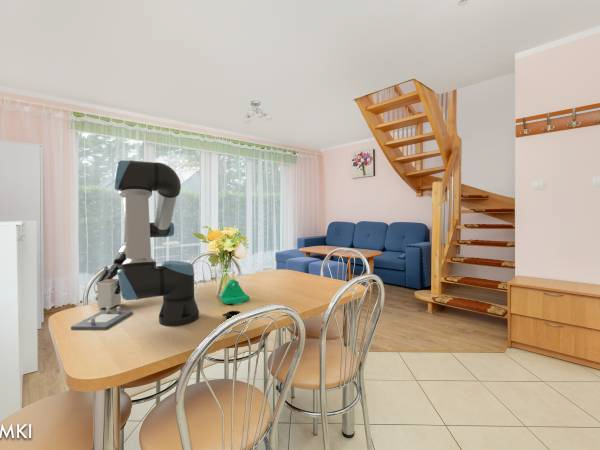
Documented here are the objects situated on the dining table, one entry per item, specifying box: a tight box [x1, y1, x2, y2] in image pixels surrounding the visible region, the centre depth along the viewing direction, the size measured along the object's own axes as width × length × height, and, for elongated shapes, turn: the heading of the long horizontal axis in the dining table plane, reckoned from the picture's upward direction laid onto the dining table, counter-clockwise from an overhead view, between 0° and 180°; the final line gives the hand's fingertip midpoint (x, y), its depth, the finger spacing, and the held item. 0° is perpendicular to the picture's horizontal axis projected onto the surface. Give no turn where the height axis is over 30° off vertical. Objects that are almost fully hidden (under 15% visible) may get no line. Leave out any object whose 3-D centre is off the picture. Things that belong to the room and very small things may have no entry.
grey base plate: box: [70, 306, 133, 331], centre depth 119 cm, size 13×17×4 cm
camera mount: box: [219, 279, 250, 305], centre depth 144 cm, size 12×8×10 cm, turn 125°
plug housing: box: [96, 278, 122, 309], centre depth 136 cm, size 6×7×11 cm
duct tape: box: [221, 310, 242, 321], centre depth 121 cm, size 8×10×3 cm
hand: (104, 300), depth 132 cm, fingers closed on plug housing, 6 cm apart
